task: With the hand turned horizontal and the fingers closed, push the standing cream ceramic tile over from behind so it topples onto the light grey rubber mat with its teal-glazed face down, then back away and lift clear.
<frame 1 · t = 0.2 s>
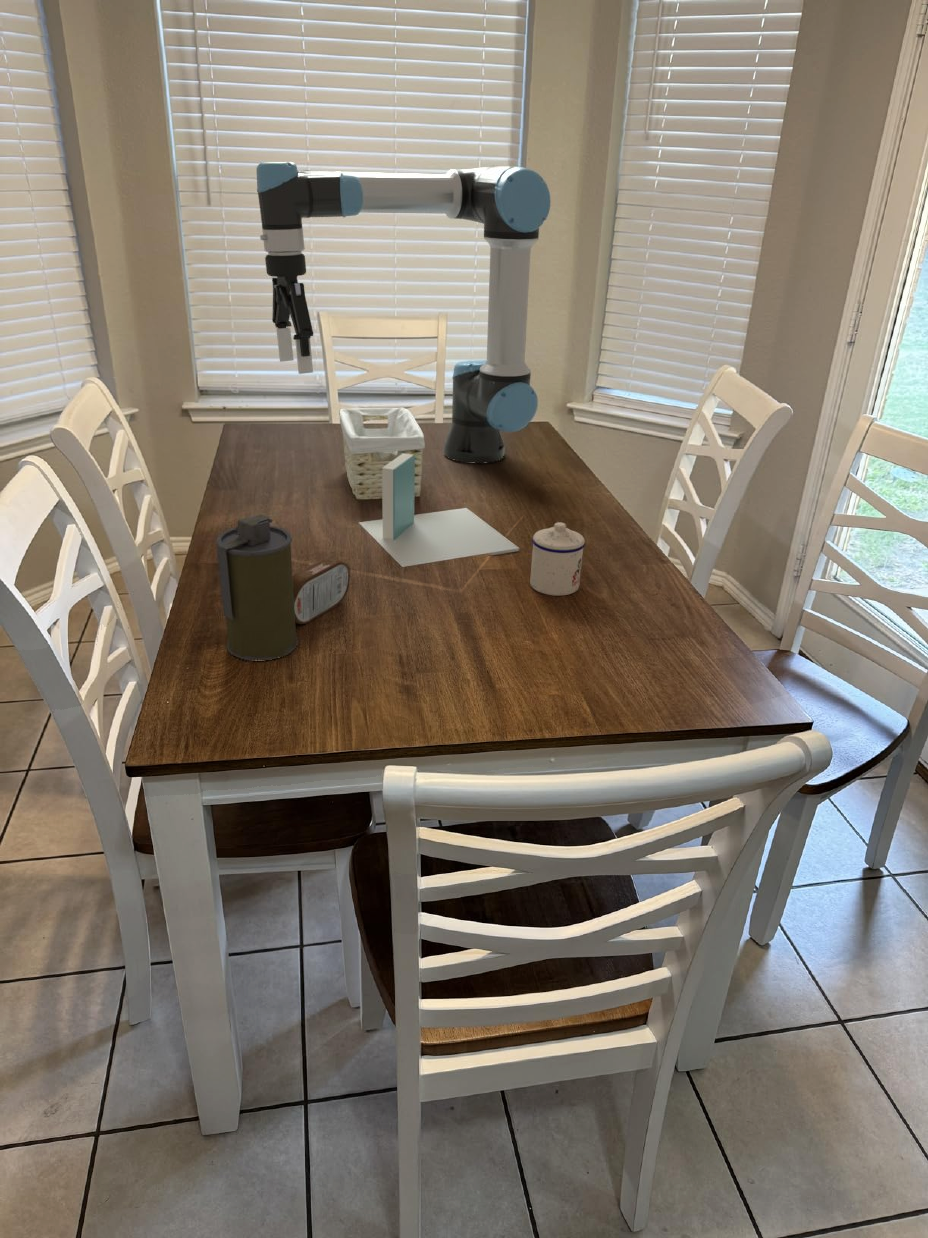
hand: (296, 366, 178), 27 cm above the table, tool pointing down, fingers open, 13 cm apart
tile: (398, 529, 173), point 1 cm above the table, touching mat
canister: (261, 646, 132), on the table
storage basket: (380, 486, 199), on the table
mat: (436, 537, 172), on the table
teacup with lid: (553, 583, 156), on the table
tin: (318, 614, 142), on the table
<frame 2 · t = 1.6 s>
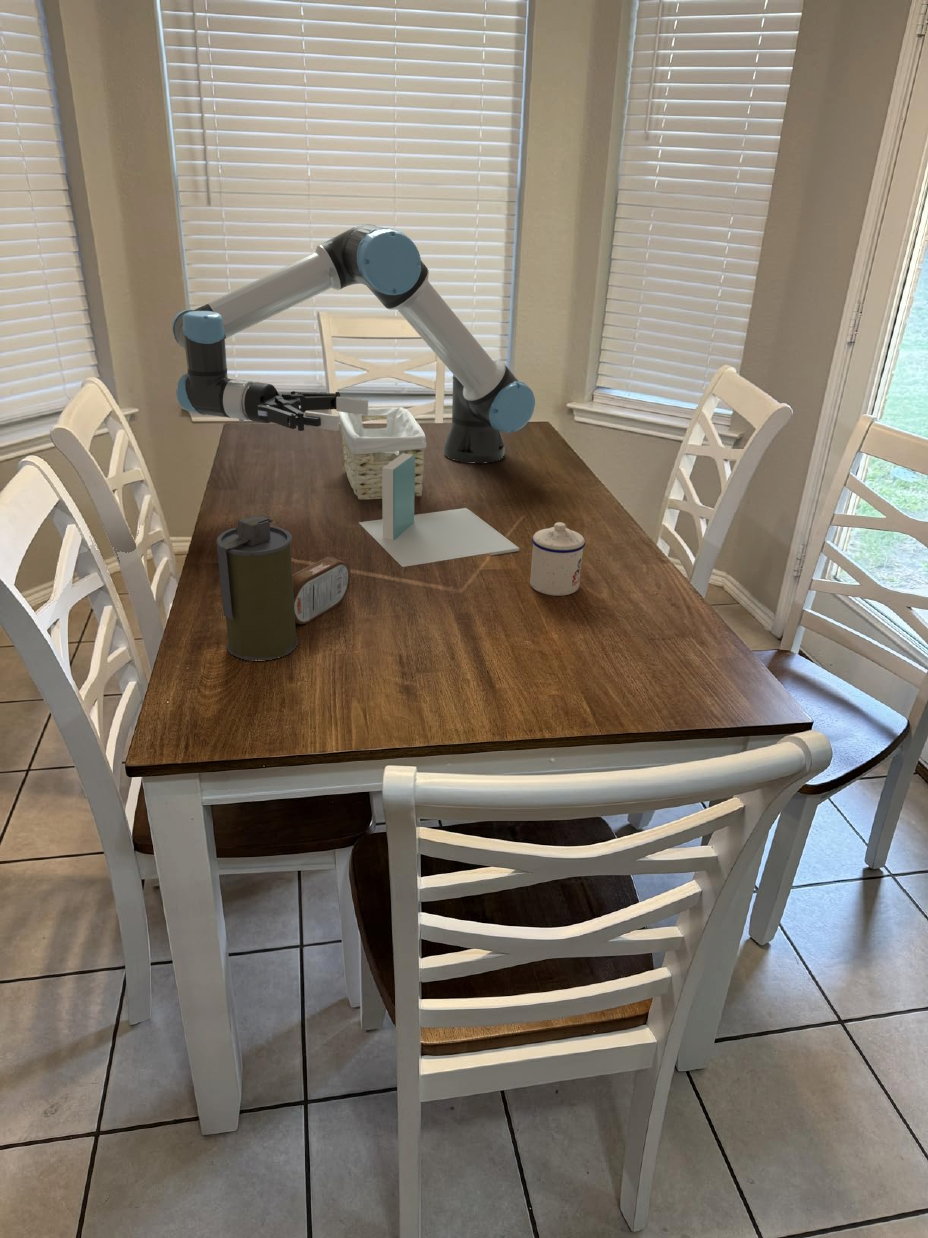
hand: (353, 415, 166), 22 cm above the table, tool horizontal, fingers open, 12 cm apart
nothing on the table moved.
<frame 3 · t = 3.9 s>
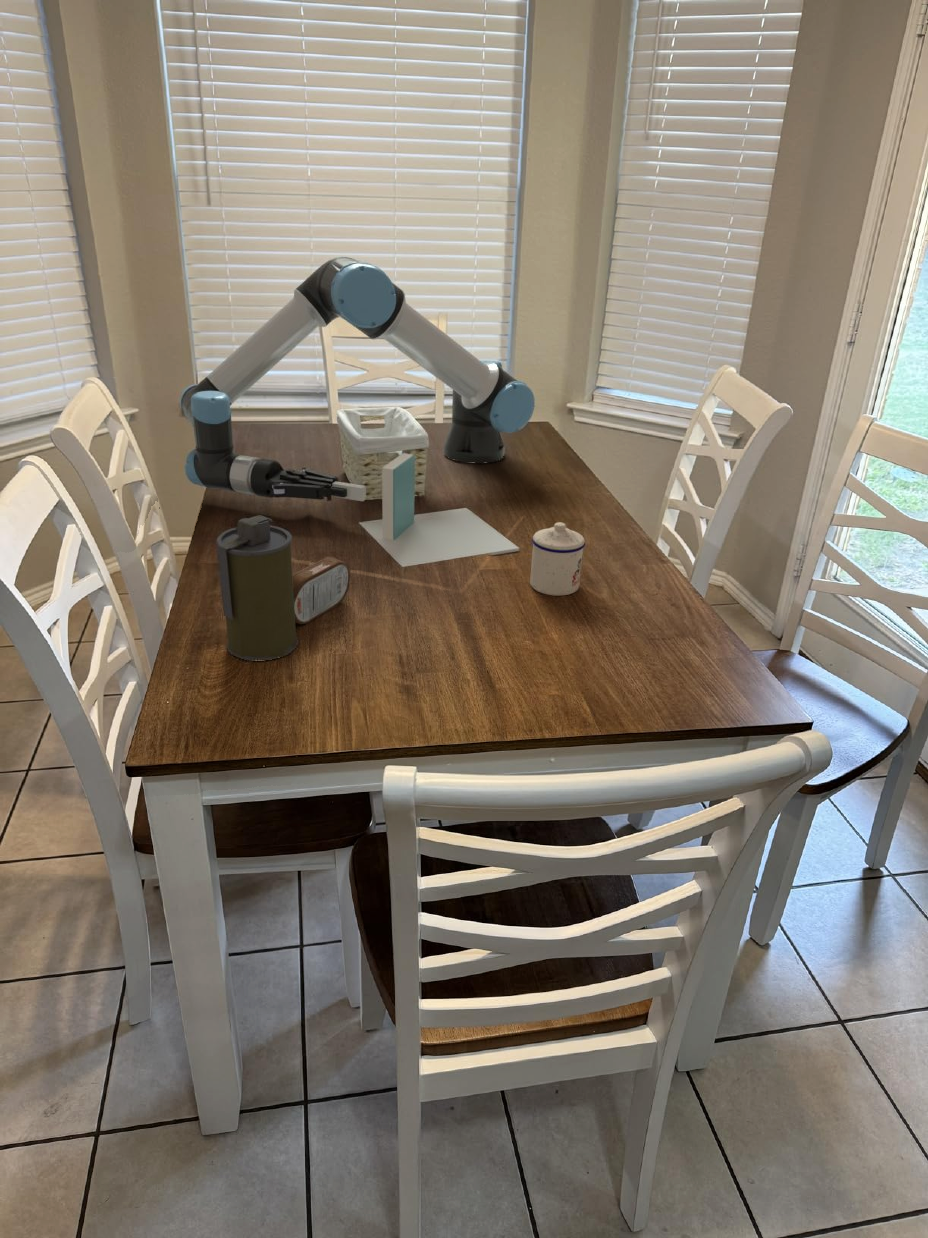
hand: (364, 493, 172), 7 cm above the table, tool horizontal, fingers closed
nothing on the table moved.
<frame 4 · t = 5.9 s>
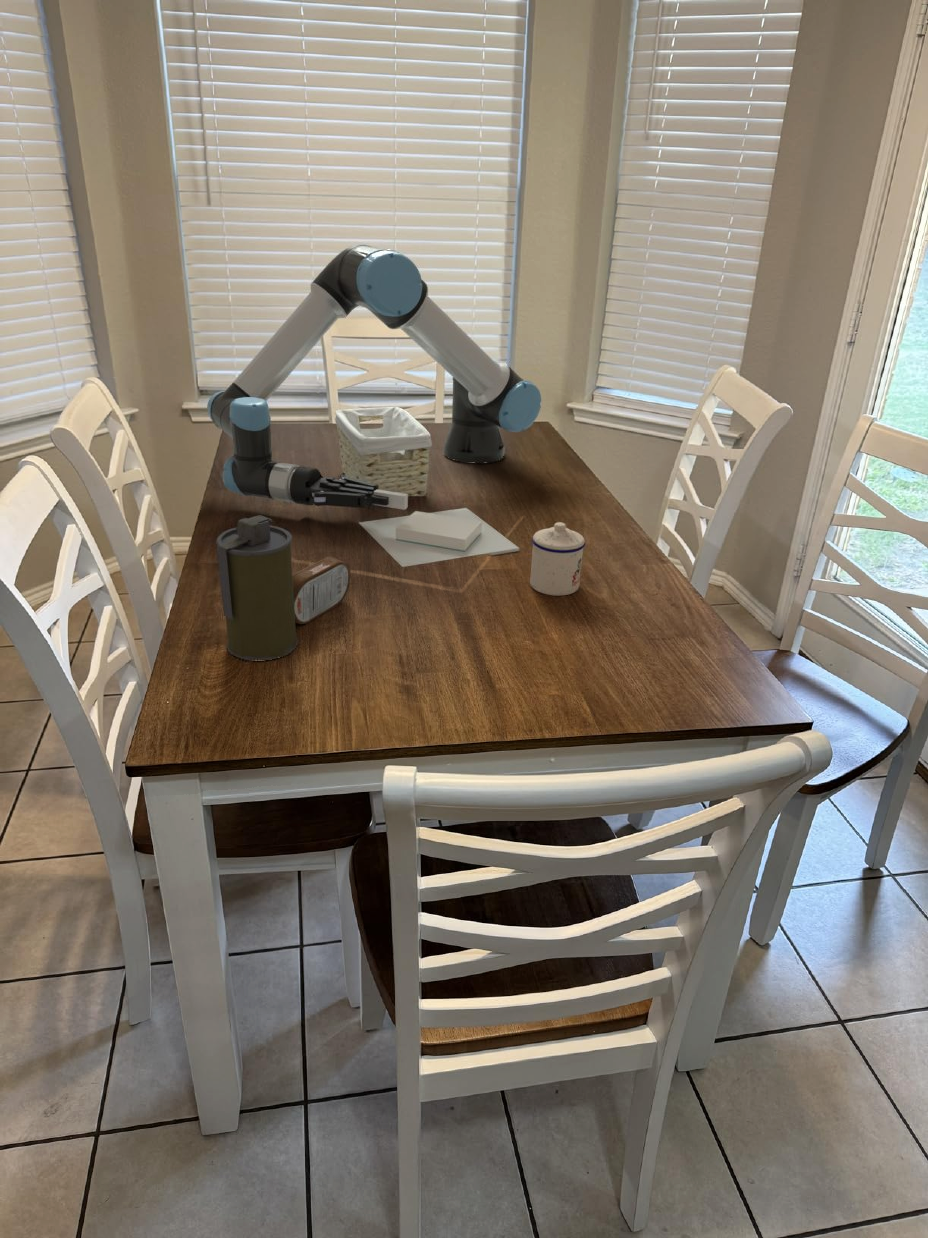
hand: (406, 501, 170), 7 cm above the table, tool horizontal, fingers closed
tile: (405, 525, 172), point 2 cm above the table, tilted 90°, touching mat
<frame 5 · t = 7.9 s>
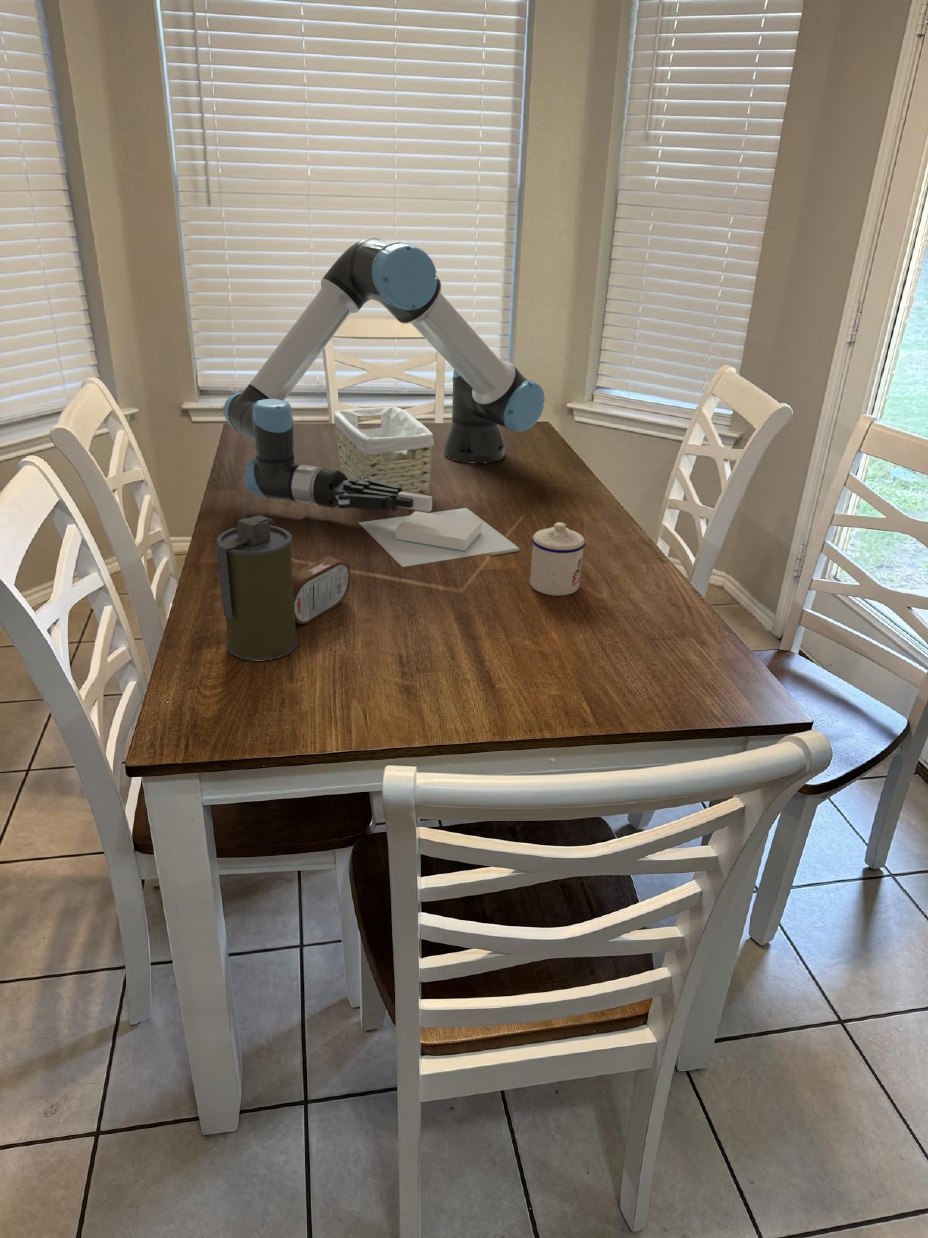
hand: (430, 504, 169), 7 cm above the table, tool horizontal, fingers closed
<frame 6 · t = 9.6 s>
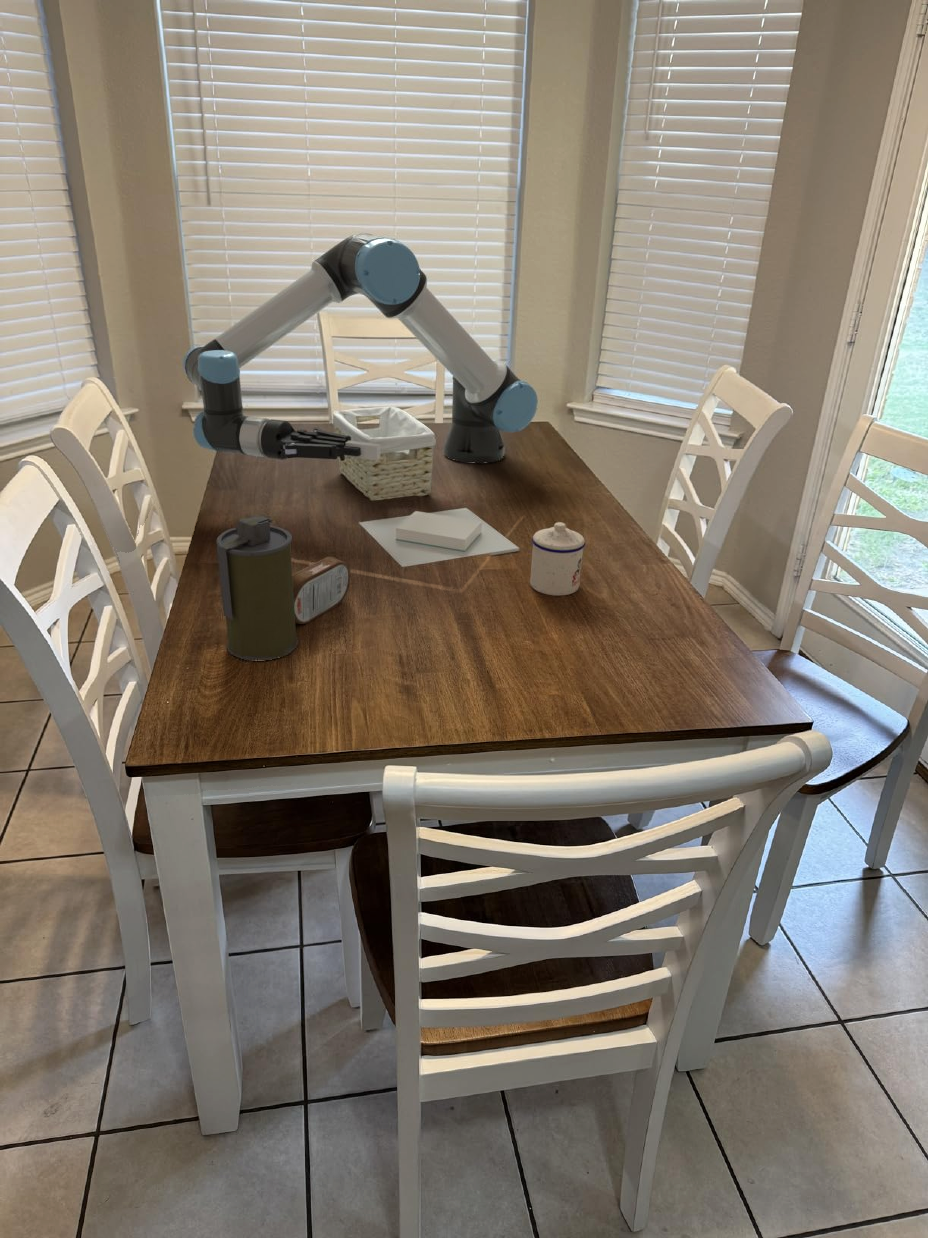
hand: (378, 452, 167), 16 cm above the table, tool horizontal, fingers closed
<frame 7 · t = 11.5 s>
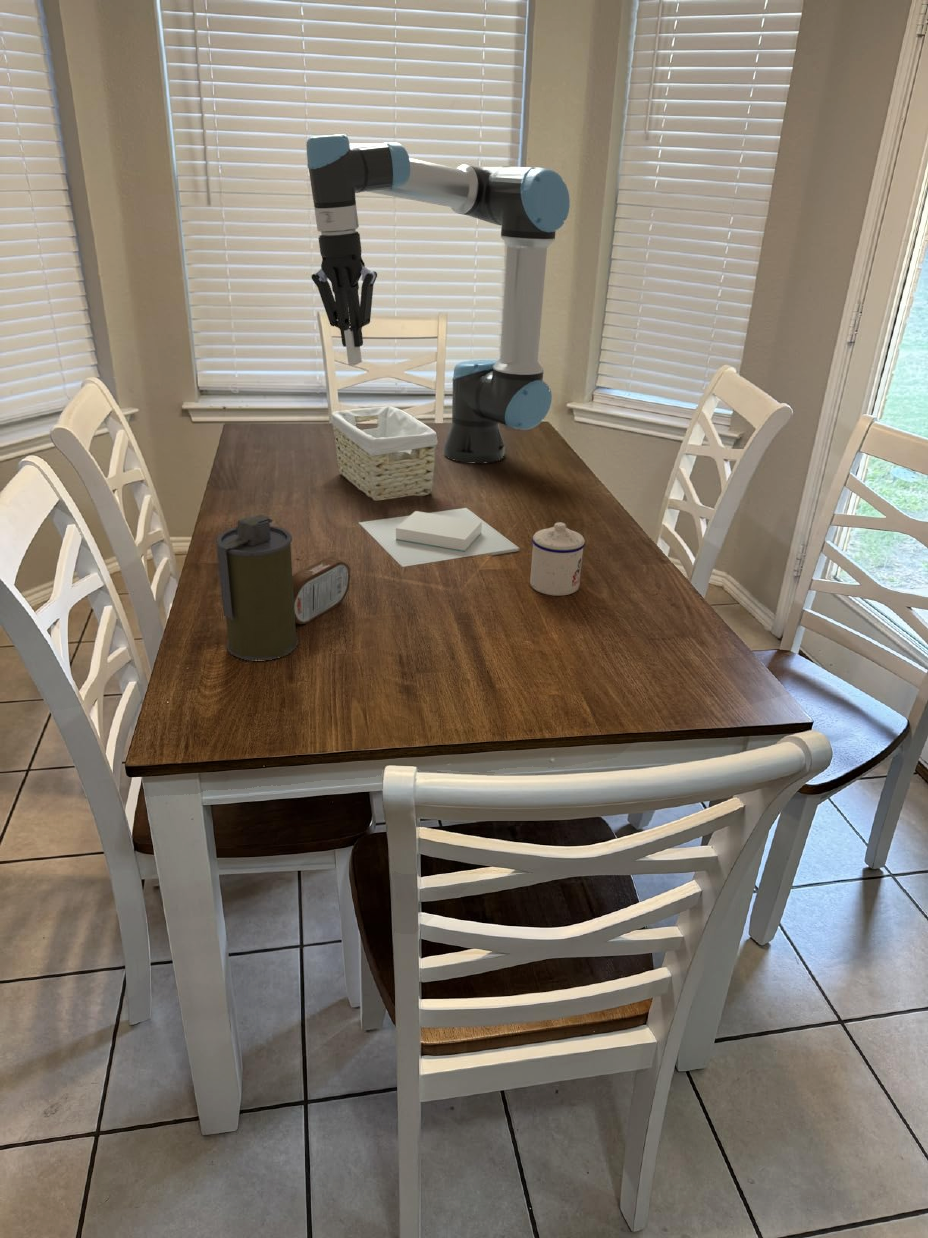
hand: (355, 363, 171), 30 cm above the table, tool pointing down, fingers closed
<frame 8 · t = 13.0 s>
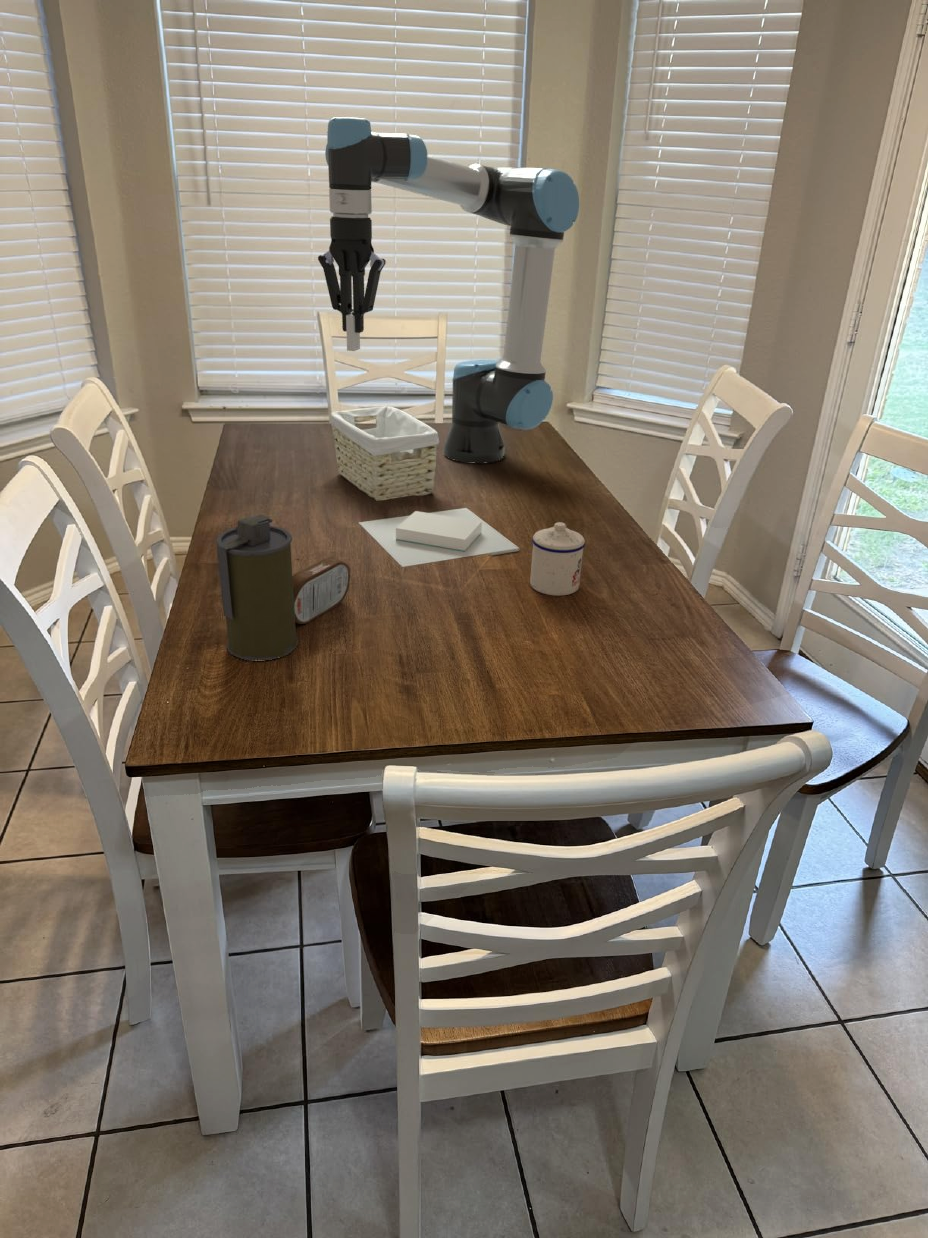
hand: (353, 349, 170), 32 cm above the table, tool pointing down, fingers closed
at the end: tile tilted 90°; tile inside the target area on the mat (6.3 cm from its centre), point 1.8 cm above the mat's base; tile touching mat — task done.
